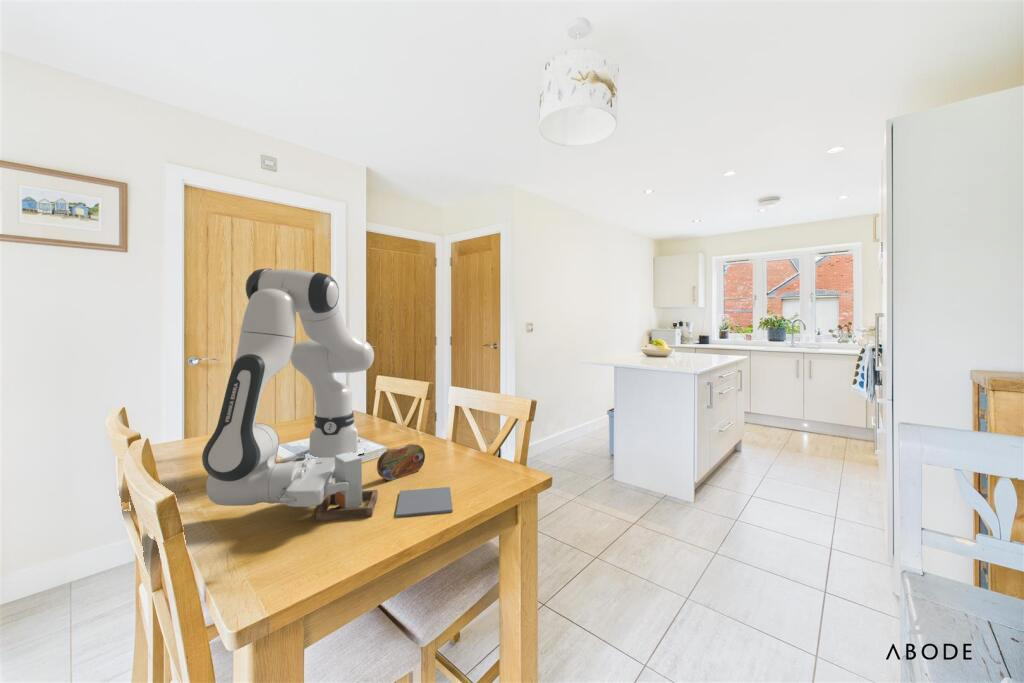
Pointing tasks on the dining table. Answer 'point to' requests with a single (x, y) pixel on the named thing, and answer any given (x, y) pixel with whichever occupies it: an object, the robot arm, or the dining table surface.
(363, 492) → the walnut collar
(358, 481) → the skincare box
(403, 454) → the tin
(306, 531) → the dining table surface
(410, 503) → the slate mat
